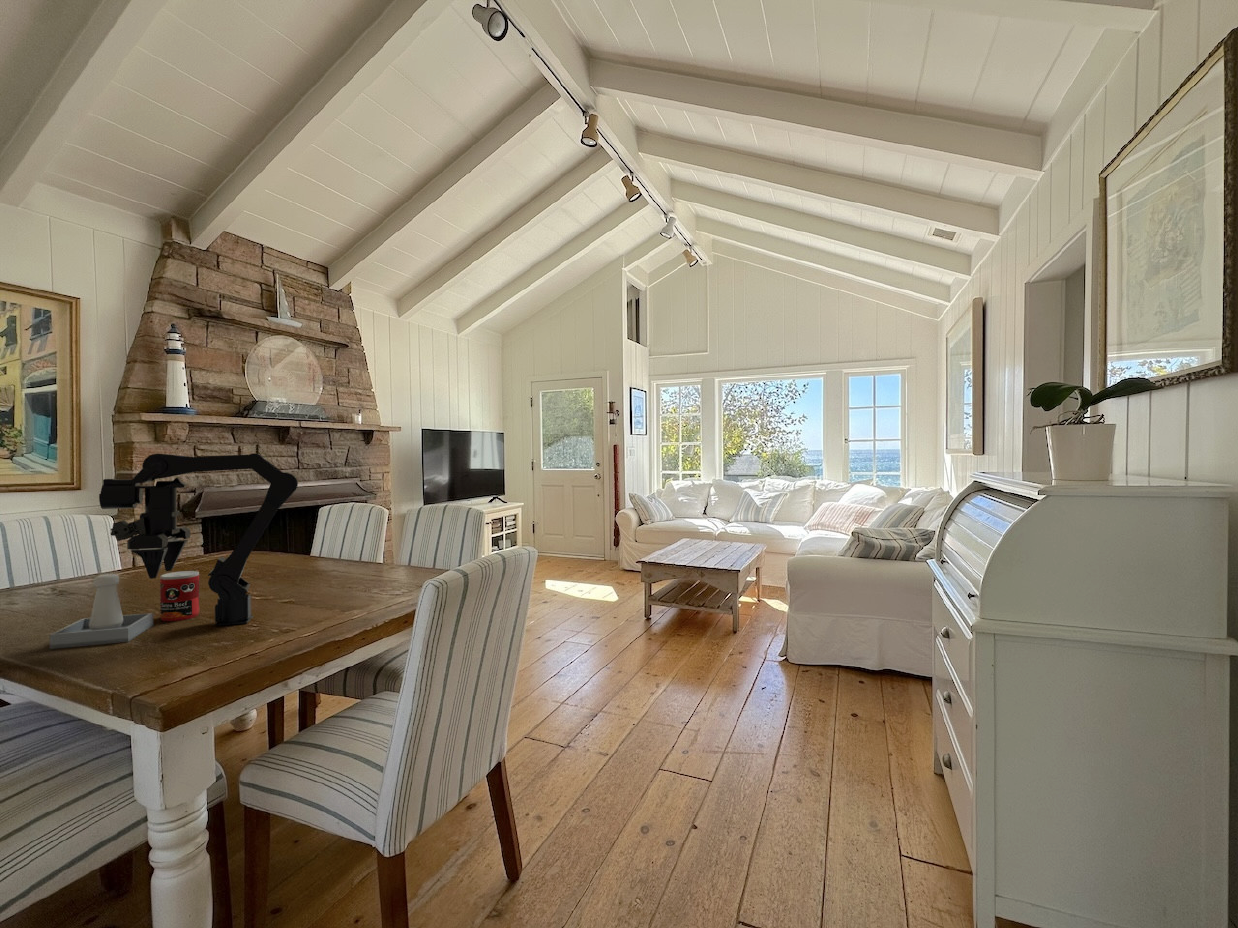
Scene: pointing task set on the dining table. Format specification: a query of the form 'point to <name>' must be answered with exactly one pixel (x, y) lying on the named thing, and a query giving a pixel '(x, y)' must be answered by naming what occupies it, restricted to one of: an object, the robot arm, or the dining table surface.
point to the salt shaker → (106, 604)
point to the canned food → (179, 595)
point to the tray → (100, 632)
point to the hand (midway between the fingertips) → (161, 574)
